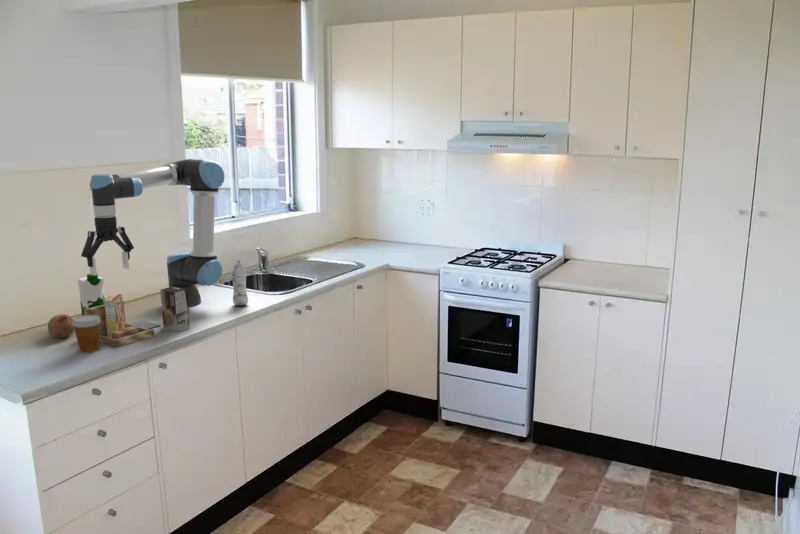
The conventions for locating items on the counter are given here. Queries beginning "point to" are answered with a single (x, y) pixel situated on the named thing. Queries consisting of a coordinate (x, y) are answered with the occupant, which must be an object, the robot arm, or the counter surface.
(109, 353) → the counter surface
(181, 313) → the coffee box
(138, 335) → the rack
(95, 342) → the disposable coffee cup
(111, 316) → the candy box
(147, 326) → the mat
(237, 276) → the plastic bottle
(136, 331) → the offcut upper
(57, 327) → the onion
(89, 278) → the milk carton
